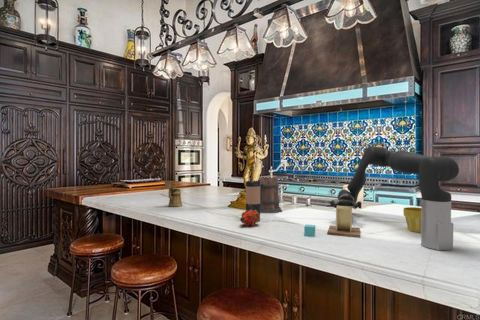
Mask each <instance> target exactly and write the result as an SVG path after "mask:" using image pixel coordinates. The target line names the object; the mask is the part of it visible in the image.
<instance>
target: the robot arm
mask: <svg viewBox="0 0 480 320" xmlns="http://www.w3.org/2000/svg"><path fill="white" fill-rule="evenodd" d="M369 165H372V166H376V167H383V168H384V167H385V168H390V169H392V170H394V171H396V172H399V173H404V174H409V175H410V174H411V175H412V174H413V175H418V178H419V183H418V184H419V190H420V191H419V192H420V194H421V206H420V208H421V232H420V245H421V246H422V247H425V248H428V249H433V250H436V251H450V250H454V223H453V222H452V194H451V193H450V192H448V191H446V190H444V189H442V188H441V187H440V183H441V182H443V183H445V182H450V181H452V180H455V178H457V177H458V175H459V172H460V167H459V165H458V163H457V162H456V161H455V159H453V158H451V157H450V156H449V157H448V156H428V155H424V154H421V153H415V152H411V151H406V150H405V151H404V150H398V151H397V150H396V151H391V150H389V149H386V148H383V147H378V146H374V145H373V146H372V145H370V146H367V148H366V149H365V151H364V152H363V154H362V156H361V159H360V161H359V164H358V166H357V168H356V171H355V172H354V175H353V176H352V178H351V180H350V181H349V182H348V184H347V188H346V189H345V188H343V189H341V190H339V192H338V194H337V200H334V199H331V201H330V205H329V207H334V208H335V209H336V207H337V206H351V207H352V209H354V210H356V209H362V202H361V201H360V200H359V201H358V197H359V195H360V192H361V191H362V189H363V187H364V186H365V185H366V182H367V175H366V174H367V173H366V170H367V167H369Z"/></svg>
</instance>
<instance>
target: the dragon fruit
mask: <svg viewBox="0 0 480 320" xmlns="http://www.w3.org/2000/svg"><path fill="white" fill-rule="evenodd" d="M259 218H260V220H261V215H260V216H259V213H258V212H257V210H254V211H253V210H252V209H250V211H248V210H246V209H245V211H244V212H242V213H241V218H240V219H239V220H240V222H241V223H242V224H243V225H242V226H243V227H249V226H251V227H254V226H255V225H256V223H260V220H259Z"/></svg>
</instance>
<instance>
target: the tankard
mask: <svg viewBox="0 0 480 320" xmlns="http://www.w3.org/2000/svg"><path fill="white" fill-rule="evenodd" d="M259 181H260V214H279V212H280V213H283V210H282V208H281V206H280V199H279V183H278V178H277V177H265V176H264V177H263V176H262V177H261V176H260V177H259Z"/></svg>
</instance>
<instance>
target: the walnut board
mask: <svg viewBox="0 0 480 320" xmlns="http://www.w3.org/2000/svg"><path fill="white" fill-rule="evenodd" d="M326 234H327V235H328V236H341V237H350V238H351V237H352V238H361V228H360V227H353V226H352V231H351V232H350V229H342V228H338V230H337V231H336V225H329V226H328V229H327V232H326Z"/></svg>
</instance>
